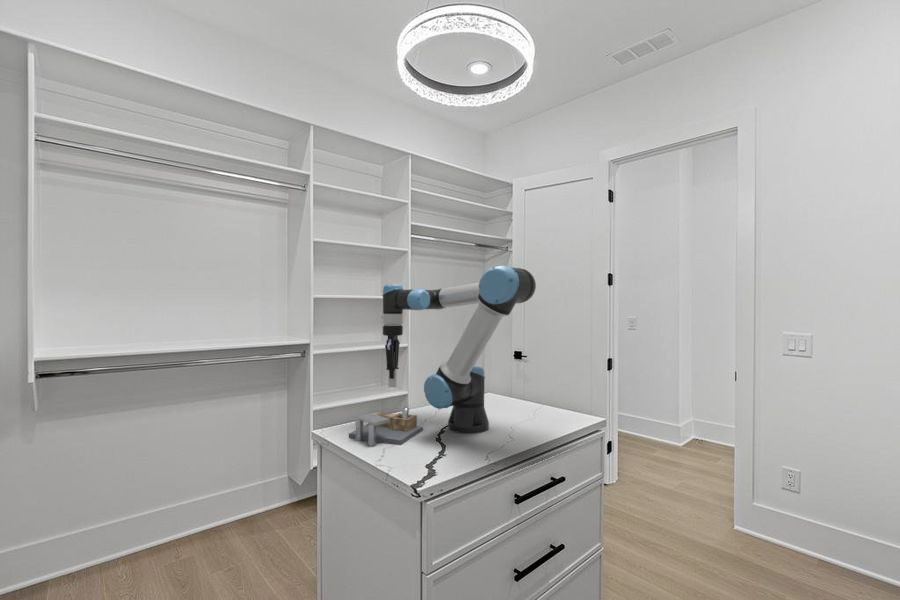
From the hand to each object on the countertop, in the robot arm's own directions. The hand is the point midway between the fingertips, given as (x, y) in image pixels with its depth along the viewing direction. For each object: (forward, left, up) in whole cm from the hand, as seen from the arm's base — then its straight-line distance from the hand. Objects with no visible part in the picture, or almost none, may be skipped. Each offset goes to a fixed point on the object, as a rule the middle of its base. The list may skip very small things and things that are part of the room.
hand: (392, 386), depth 169 cm
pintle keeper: (-4, +16, -14) cm, 22 cm away
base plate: (-5, +13, -14) cm, 19 cm away
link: (-4, +8, -13) cm, 15 cm away
